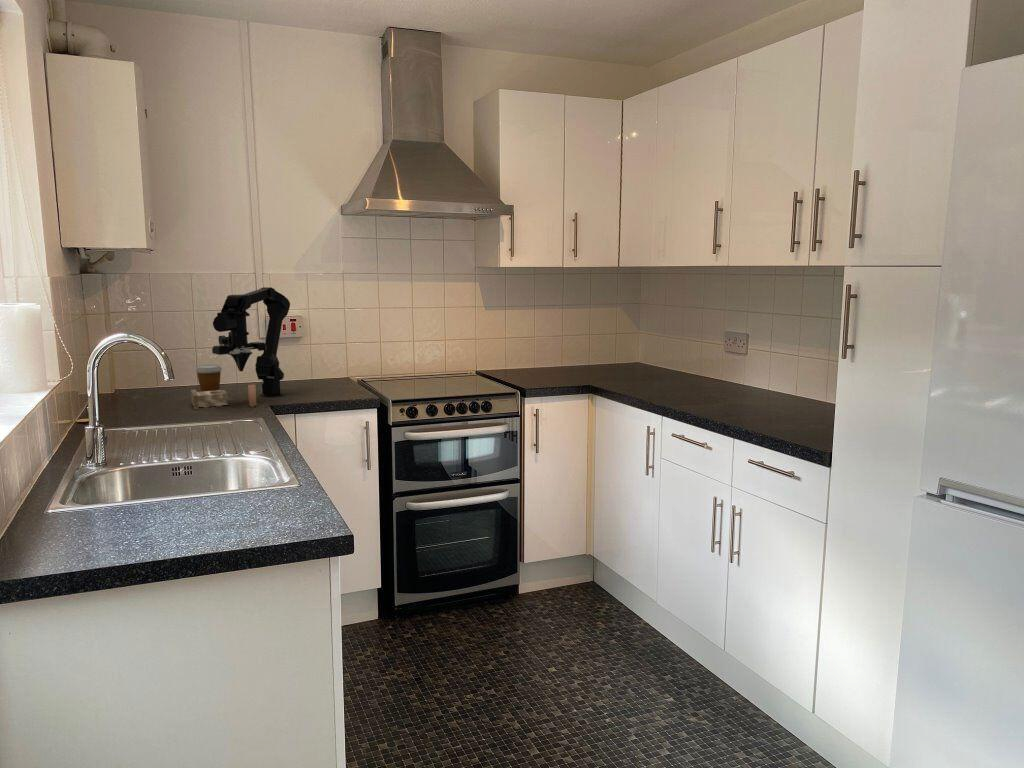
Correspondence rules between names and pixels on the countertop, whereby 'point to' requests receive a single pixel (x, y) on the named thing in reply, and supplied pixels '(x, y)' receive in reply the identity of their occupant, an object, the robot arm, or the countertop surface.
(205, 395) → the block
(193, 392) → the wall
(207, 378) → the disposable coffee cup
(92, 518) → the countertop surface
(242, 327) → the robot arm
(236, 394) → the countertop surface
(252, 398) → the dowel
